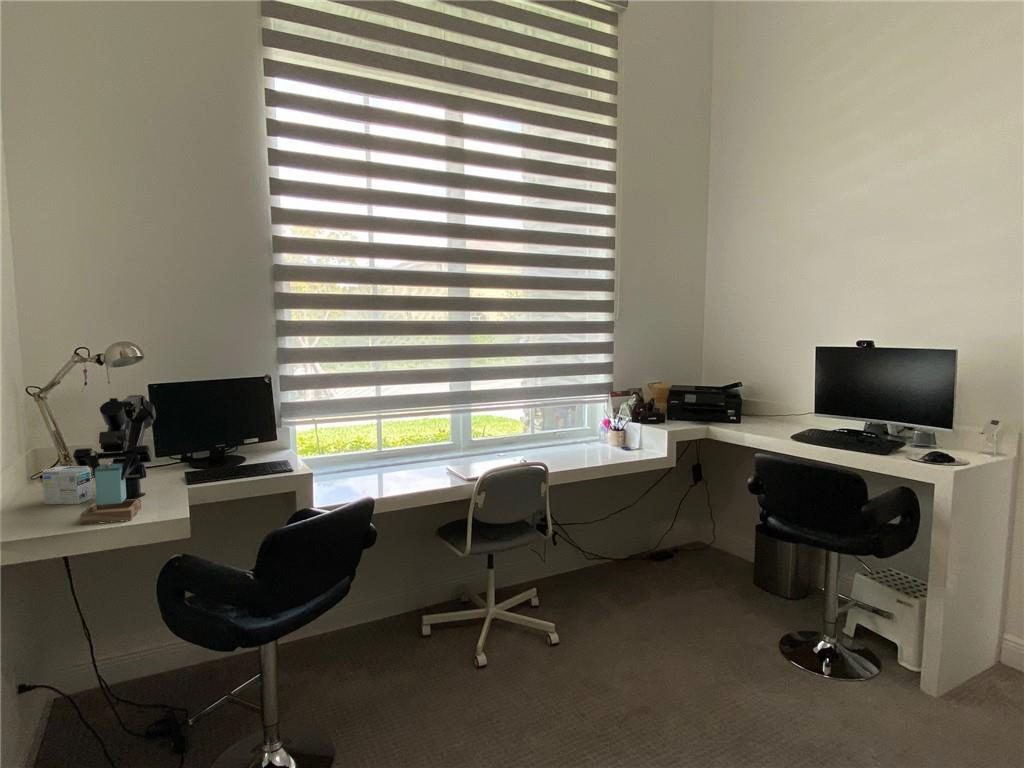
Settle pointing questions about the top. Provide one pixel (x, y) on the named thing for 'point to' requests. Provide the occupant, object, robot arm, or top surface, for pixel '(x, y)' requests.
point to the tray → (111, 512)
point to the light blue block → (110, 484)
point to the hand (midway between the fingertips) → (109, 480)
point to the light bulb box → (67, 485)
